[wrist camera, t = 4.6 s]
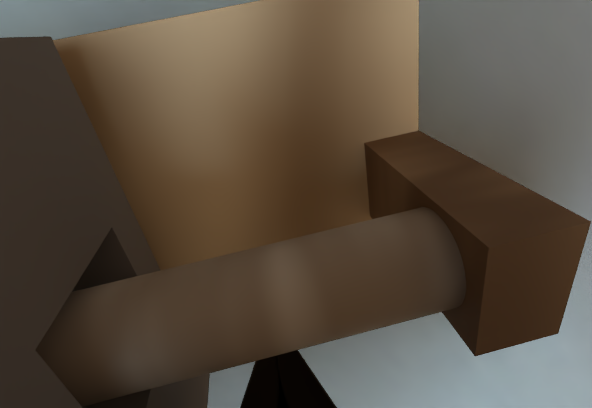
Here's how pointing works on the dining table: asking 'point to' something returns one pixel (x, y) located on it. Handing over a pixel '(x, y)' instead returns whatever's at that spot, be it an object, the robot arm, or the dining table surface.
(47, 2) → the dining table surface
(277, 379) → the robot arm
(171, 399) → the collar
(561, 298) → the pipe stand
